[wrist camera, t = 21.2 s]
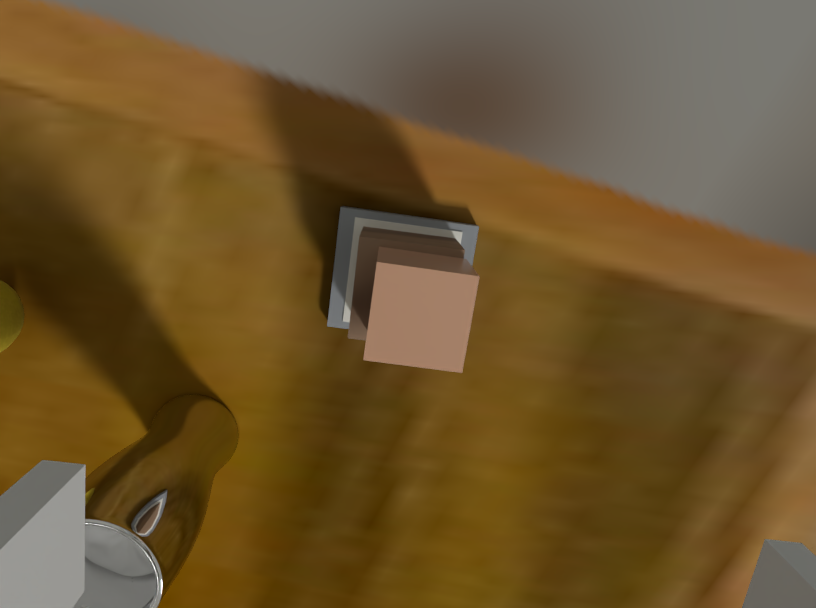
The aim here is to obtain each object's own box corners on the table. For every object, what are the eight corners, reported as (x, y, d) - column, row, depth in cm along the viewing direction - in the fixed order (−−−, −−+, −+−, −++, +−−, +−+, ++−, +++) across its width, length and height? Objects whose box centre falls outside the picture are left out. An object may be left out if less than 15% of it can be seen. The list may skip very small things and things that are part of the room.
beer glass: (128, 439, 41) (-14, 592, 27) (183, 368, 40) (65, 488, 26) (208, 493, 43) (114, 666, 28) (264, 426, 41) (196, 570, 27)
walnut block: (363, 226, 37) (359, 236, 32) (455, 238, 37) (464, 250, 32) (353, 315, 38) (347, 338, 34) (441, 326, 39) (449, 350, 34)
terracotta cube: (378, 246, 32) (376, 261, 27) (466, 258, 33) (479, 276, 28) (367, 330, 33) (363, 360, 29) (451, 342, 34) (462, 372, 29)
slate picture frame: (328, 322, 40) (326, 326, 39) (341, 205, 38) (340, 207, 37) (457, 338, 40) (459, 343, 39) (476, 224, 38) (479, 226, 37)
